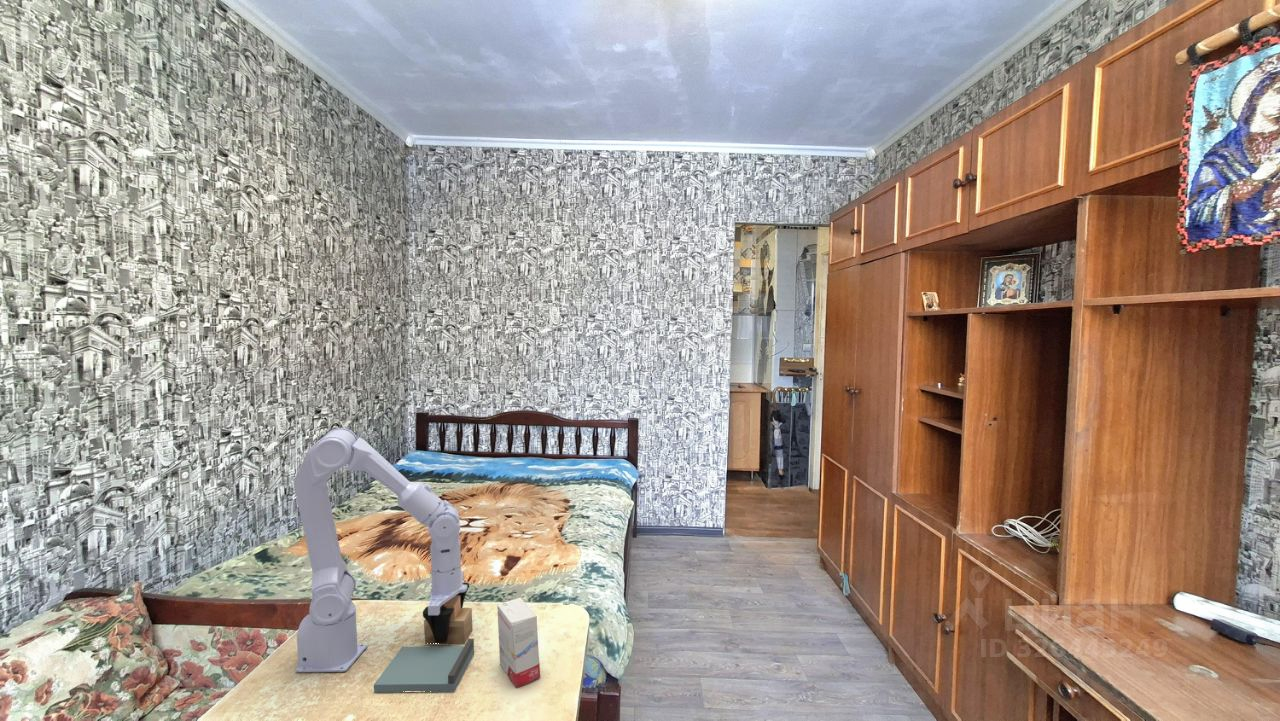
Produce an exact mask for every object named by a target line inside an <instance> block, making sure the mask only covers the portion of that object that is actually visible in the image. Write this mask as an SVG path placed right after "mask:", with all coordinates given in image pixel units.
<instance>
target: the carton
mask: <svg viewBox="0 0 1280 721" xmlns="http://www.w3.org/2000/svg"><path fill="white" fill-rule="evenodd" d="M444 607H446V608H454V610H453V613H452V615H451V619H450V620H455V619H456V617H457V615H458V613H459V612H460V610H461V603H460V596H454V597H453V598H452V599H450V600H449V601H447V602H446V603H444Z"/></svg>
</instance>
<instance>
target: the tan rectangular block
mask: <svg viewBox="0 0 1280 721" xmlns="http://www.w3.org/2000/svg"><path fill="white" fill-rule="evenodd" d="M423 629H424V630H423V631H424V645H425V644H427V643H428V644H430V643H431V644H433V643H434V644H435V643H436V642H435V639H434V636H433V633H432V630H431V627H430V625H429V624H428V622H427V621H426V619H425V618H424V621H423ZM472 632H473V607H463V608H461V610H460V612H459V613H458V615H457V617H456V619H455V620H450V623H449V633H448V639H447V641H446V643H439V644H454V645H465V644H466V642H467V641H468V639H469V638H470V636H471V634H472ZM437 644H438V643H437Z"/></svg>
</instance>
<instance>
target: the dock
mask: <svg viewBox="0 0 1280 721" xmlns="http://www.w3.org/2000/svg"><path fill="white" fill-rule="evenodd" d="M474 641H475V639H474V638H468V639H467V641H466V643H465V644H464V645H456V646H454V645H451V646H450V645H444V646H443V645H441V646H440V645H429V646H401V648H400V649H399V650H398V652H397V653H396V655H395V656H394V657H393V659H392V660H391V661H390V662H389V664H387V666H386V668H385V669H384V670H383V672H382V673H381V674H380V675H379V677H378V678H377V680H376V681H375V682H374V684H373V694H384V693H386V694H387V693H388V694H390V693H391V694H393V693H398V692H403V691H404V692H405V691H425V692H424V693H454V692H456V690H457V688H458V686H459V684H460V682H461V680H462V679H463V678H462V677H463V676H464V675H465V672H466V670H467V668H468V666H469V664H470V663H471V661H472V659H473V657H474V655H475V644H474V643H475V642H474ZM430 691H431V692H430ZM398 694H399V693H398Z"/></svg>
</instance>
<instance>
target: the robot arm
mask: <svg viewBox="0 0 1280 721" xmlns="http://www.w3.org/2000/svg"><path fill="white" fill-rule="evenodd" d="M346 465H348V466H347V468H346V472H347V471H348V472H366V473H367V474H368V475H369V476H371V477H372V478H374V480H376V481H378V482H379V483H380V484H382V485H383V486H384V487H386V488H387V489H388V490H390V491H391V492H393V494H395V495H396V496H397V505H398V506H399V507H400V508H402V509H403V510H404V511H405V512H406V513H407V514H409V515H410V517H412V518H413V519H414V520H416V521H417V522H419V523H420V524H421V526H422V525H423V526H425V527H428V530H427V531H428V535H429V536H430V538H431V544H430V545H429V546H430V548H429V549H430V575H431V576H430V578H431V588H430V596H429V603H428V605H427V606H426V607H425V608H424V609H423V610H422V617H423V618H424V620H425V619H426V621H427V622H428V624H429V625H430V627H431V630H432V633H433V636H434V639H435V642H436V643H446V641H447V639H448V633H449V623H450V619H451V615H452V613H453V610H454V608H446V607H444V603H446V602H447V601H449V600H450V599H452V598H453V597H454V596H460V603H461V608H464V604H465V603H464V602H465V599H466V596H467V593H468V590H469V588H470V583H469V582H463V581H464V578H465V576H464V575H465V574H464V570H462V562H461V560H462V558H461V541H460V530H461V524H460V515H459V512H458V511H459V510H457V508H456V507H455V506H454V504H452V503H450V502H449V501H448V500H446V499H444V500H442V498H440V497H439V496H438V495H437V494H435V493H434V492H433V491H432V486H431V485H430V484H429V483H427V482H426V483H424V484H423V483H422V481H410V480H408V479H407V478H406V477H405V475H403V474H402V473H401V472H399V471H398V470H397V469H396V468H395V467H394V466H393V464H392V463H390V462H389V461H388V460H387V459H385V457H384V456H382V455H381V454H380V453H379V452H378V451H377V450H376V449H375V448H374V447H372V446H371V445H370V443H369V442H367V441H366V440H365V439H363V438H362V437H358V436H357V435H356V434H355V432H353V431H352V430H351V429H348V428H344V427H343V428H342V427H338V428H334V429H332V430H330V431H328V432H327V433H326V434H324V436H322V437H321V438H320V439H319V440H318V441H316V443H314V444H313V445H312V446H311V447H310V448H309V449H308V450H307V451H306V452H305V456H304V458H303V459H302V462H301V465H300V466H299V469H298V470H297V472H296V474H295V477H294V479H293V488H294V492H295V497H296V502H297V505H298V506H297V507H298V512H299V515H300V520H301V525H302V529H303V534H304V537H305V538H304V539H305V542H306V548H307V551H308V557H309V562H310V566H311V571H312V576H311V586H310V587H311V588H310V590H311V602H310V605H309V611H308V612H309V613H308V614H307V615H306V616H305V617H304V618H302V620H301V622H300V623H299V626H298V630H297V634H296V644H297V645H296V646H297V665H298V666H297V667H296V669H295V673H319V672H320V673H331V672H332V673H335V672H337V673H338V672H339V673H342V672H343V673H344V672H347V671H348V670H349V668H350V667H351V666H352V665H353V664H354V663H355V662H356V660H358V658H359V657H360V656H361V655H362V653H363V652H364V651H365V650H366V648H367V647H368V644H366V643H361V644H360V643H358V632H357V631H358V630H357V611H356V610H357V607H356V605H355V603H354V602H353V600H352V596H353V594H354V592H355V590H356V585H357V583H356V579H355V577H354V575H352V573H351V572H350V571H349V569H348V567H347V562H345V560H344V559H343V557H342V553H341V548H340V544H339V539H338V533H337V529H336V524H335V519H334V515H333V514H334V513H333V509H332V505H331V500H330V494H329V491H328V490H329V488H328V485H327V481H328V480H329V479H330V477H332V475H333V474H334V473H336V472H337V471H339V470H340V469H342V468H343V467H344V466H346Z"/></svg>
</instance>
